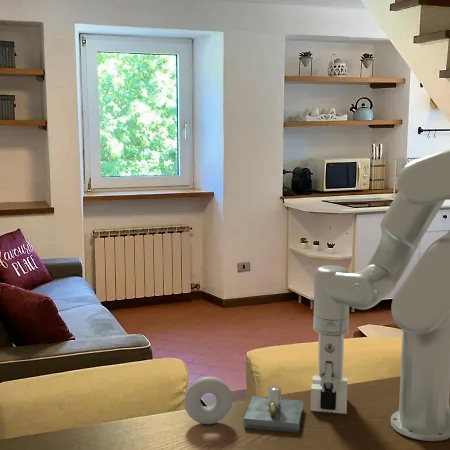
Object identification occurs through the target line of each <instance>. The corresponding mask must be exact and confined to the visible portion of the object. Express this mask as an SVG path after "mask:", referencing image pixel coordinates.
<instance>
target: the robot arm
mask: <svg viewBox="0 0 450 450" xmlns="http://www.w3.org/2000/svg"><path fill="white" fill-rule="evenodd" d="M396 182H397V184H396V185H397V193H396V195H395V196H394V197H393V200H392V202H391V203H390V205H389V206H388V209H387V210H386V212H385V214H384V215H383V217H382V218H381V221H380V228H381V229H380V230H381V238H380V240H379V243H378V246H377V247H376V249H375V251H374V253H373V255H372V256H371V258H370V260H369V262H367V265H366V266H365V268H362V269H361V270H359V271H355V272H350V271H349V270H348V268H346V267H344V266H340V265H322V266H319V267H317V268H316V270H315V271H314V282H313V283H314V285H313V288H314V289H313V290H314V291H313V321H312V323H313V324H312V325H313V326H312V328H313V331H314V332H316V333H318V353H317V355H318V357H317V358H318V376H319V377H320V378H321V379H322V390H321V402H320V408H321V409H327V410H335V409H336V391H335V380H336V379H339V380H341V379H342V377H343V373H344V372H343V370H344V351H345V349H344V348H345V347H344V344H345V343H344V341H345V339H344V338H345V337H344V335H346V334H348V333H349V330H350V329H349V326H350V325H349V323H350V321H349V320H350V307H351V308H354V309H357V310H368V309H369V310H370V309H371V308H373V307H375V306H376V305H378V304H379V303H380V302H381V301H382V300H384V299H385V298H386V299H387V297H388V296H390V295H391V293H392V292H393V290H394V289H395V288H396V286H397V284H398V282H399V281H400V279H401V278H402V276H403V275H404V273H405V271H406V270H407V268H408V266H409V264H410V263H411V260H412V258H413V257H414V254H415V253H416V251H417V249H418V247H419V245H420V243H421V241H422V239H423V237H424V236H425V234H426V232H427V231H428V229H429V227H430V225H431V224H432V222H433V221H434V219H435V217H436V216H437V214H438V213H439V211H440V210H441V208H442V206H443V205H444V203H445V201H446V200H450V148H449V149H446V150H442V151H439V152H437V153H434V154H430V155H426V156H424V157H420V158H417V159H413V160H411V161H410V162H408V163H406V164H405V165H404V166H403V167H402V169H401V170H400V172H399V174H398V177H397V181H396ZM420 256H421V257H420V258H419V259H418V260H417V262H416V263H415V265H414V266H413V268H412V269H411V270H410V272H409V273H408V275H407V276H406V278H405V279H404V281H403V282H402V284H401V285H400V286H399V288H397V291H395V294H394V295H393V298H392V302H391V306H390V307H391V310H390V311H391V315H392V318H393V320H394V323H395V324H396V326H398V327H399V328H400V329H401V330H402V339H401V340H402V341H401V358H400V359H401V361H400V379H399V381H400V382H399V399H398V400H399V402H398V403H399V404H398V405H399V406H398V410H397V411H395V412H393V413H392V415H391V417H390V425H391V427H392V429H393V430H395V431H396V432H397V433H399V434H401V435H402V436H405V437H407V438H411V439H414V440H418V441H426V442H439V441H445V440H448V439H450V229H449V230H448V232H446V233H445V234H444V235H442V236H440V237H439V238H438V239H436V240H435V241H434V242H432V243H431V244H430V245H429V247H428V248H426V250H425V251H424V252H423V254H422V255H420ZM324 376H326V377H324ZM335 377H336V378H335ZM331 381H333V384H332V383H331ZM332 388H333V389H332Z"/></svg>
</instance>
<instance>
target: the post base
mask: <svg viewBox="0 0 450 450" xmlns="http://www.w3.org/2000/svg"><path fill="white" fill-rule="evenodd" d="M267 389H268V391H267V392H268V394H267V395H268V397H264V396H263V397H262V396H251V399H250V402H249V404H248V407H247V410H246V413H245V415H244V417H243V427H244V429H252V428H254V430H264V431H265V430H266V431H274V432H275V431H276V432H283V433H284V432H285V433H297V434H299V431H300V428H301V421H302V416H303V409H304V400H303V399H302V400H300V399H299V400H298V399H290V398H289V399H288V398H282V388H281V387H279V386H275V385H274V386H273V385H272V386H269V387H268V388H267Z"/></svg>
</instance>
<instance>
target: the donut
mask: <svg viewBox="0 0 450 450" xmlns="http://www.w3.org/2000/svg"><path fill="white" fill-rule="evenodd" d="M184 393H185V394H184V400H183V404H184V408H185V411H186V413H187V415H188V417H190V418H191V419H192V420H193V421H195V422H197V423H199V424H201V425H203V424H204V425H211V424H212V425H213V424H217V423H218V422H220V421H222V420H224V419H225V417H226V416H227V415H228V414H229V413H230V411H231V409H232V406H233V399H234V398H233V395H232V394H233V393H232V390H231V388H230V387H229V385H228V384H227V383H226V382H225V381H224V380H223V379H221V378H218V377H216V376H204V377H200V378H198V379H196V380H194V381H192V382H191V384H190V385H189V386H188V387H187V389H186V392H184ZM208 394H212V395H214V396H215V398H216V399H215V400H216V401H215V403H214V404H213V405H212V406H207V407H206V406H204V405H203V404H202V402H201V399H202V398H203V397H204V395H208Z"/></svg>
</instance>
